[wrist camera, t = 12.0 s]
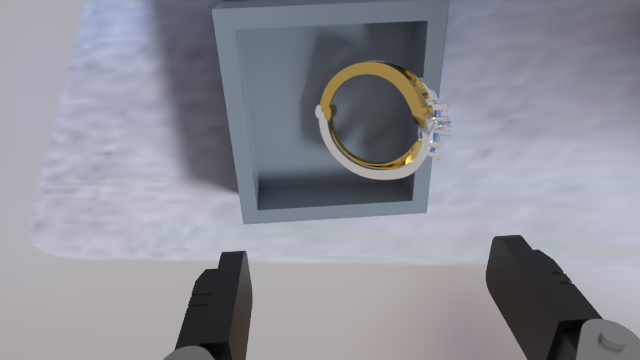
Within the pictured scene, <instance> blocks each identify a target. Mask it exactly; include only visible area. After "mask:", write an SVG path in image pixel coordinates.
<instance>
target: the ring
mask: <svg viewBox="0 0 640 360" xmlns="http://www.w3.org/2000/svg"><path fill="white" fill-rule="evenodd" d="M362 74H372V75H377V76H380V77H383V78H385V79H387V80H388V81H390V82H391V83H393V84H394V85H395V86H396V87H397V88H398V89H399V90H400V92H401V93H402V94H403V96H404V97H405V99H406V101H407V103H408V105H409V107H410V109H411V112H412V114H413V118H414V121H415V123H416V124H417V125H419V127H418V140H417V141H416V142H415V144H414V145H413V146H412V148H411V149H410V150H409V151H408V152H406V153H405V154H404V155H402V156H400V157H399V158H396V159H394V160H391V161H387V162H371V161H367V160H364V159H361V158H359V157H357V156H355V155H354V154H352V153H351V152H350V151H348V150H347V149H346V148H345V147H344V146H343V144H342V143H341V142H340V140H339V138H338V136H337V134H336V132H335V128H334V124H333V118H334V117H335V116H336V114H337V107H336V105H335V104H334V101H335V98H336V96H337V94H338V92H339V90H340V89H341V87H342V86H343V85H344V84H345V83H346V82H347V81H348V80H349V79H351V78H352V77H354V76H357V75H362ZM424 100H425V101H426V103H427V107H426V104H425V101H424ZM447 108H448V104H447V103H446V104H440V102H439V100H438V97H437V95H436V93H435V91H434V90H433V88H432V87H431V85H430V84H429V83H428V82H427V81H426V80H425V79H424V78H422V77H421V76H420V75H418V74H417V73H415V72H414V71H412V70H410V69H408V68H406V67H404V66H402V65H399V64H397V63H393V62H389V61H383V60H373V61H366V62H361V63H357V64H354V65H351V66H349V67H346V68H345V69H343V70H341V71H340V72H339V73H337V74H336V75H335V76H334V77H333V78H332V79H331V81H330V82H329V83H328V85H327V86H326V88H325V90H324V93H323V95H322V98H321V102H320V104H319V105H317V107H316V110H315V114H316V117H317V118H319V126H320V131H321V134H322V137H323V140H324V142H325V144H326V146H327V148H328V149H329V151H330V152H331V154H332V155H333V156H334V157H335V158H336V159H337V160H338V161H339V162H340V163H341V164H342V165H343V166H344V167H346V168H347V169H349V170H350V171H352V172H354V173H356V174H358V175H360V176H363V177H366V178H371V179H378V180H391V179H399V178H403V177H406V176H408V175H410V174H412V173H414V172H415V171H416V170H417V169H418V168H419V167H420V165H421V164H422V163H423V161H424V160H425V159H426V157H427V155H428V156H430V157H433V158H435V159H438V160H440V158H441V154H438V153H436V152H434V151H435V148H438V149H442V150H443V148H444V143H439V142H438V141H439V138H440V137H439V136H442V137H445V138H449V136H450V130H449V127H451V121H448V116H443V115H442V110H447Z"/></svg>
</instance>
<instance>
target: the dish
mask: <svg viewBox="0 0 640 360" xmlns="http://www.w3.org/2000/svg"><path fill="white" fill-rule="evenodd" d="M448 7H449V0H249V1H226V2H221V3H219V4H218V5H217V6H215V7H214V8H213V9H211V10H212V16H213V23H214V30H215V37H216V43H217V50H218V57H219V63H220V70H221V77H222V83H223V90H224V97H225V104H226V110H227V117H228V124H229V130H230V137H231V144H232V150H233V157H234V164H235V171H236V177H237V184H238V191H239V197H240V204H241V211H242V217H243V224H257V223H273V222H289V221H305V220H321V219H336V218H352V217H368V216H384V215H400V214H416V213H426V212H427V203H428V194H429V184H430V175H431V166H432V157H430V156H428V155H427V157H426V159H425V160H424V161H423V163H422V164H421V165H420V167H419V168H418V169H417V170H416V171H415V172H414V173H412V174H410V175H408V176H406V177H403V178H399V179H391V180H378V179H371V178H366V177H363V176H360V175H358V174H356V173H354V172H352V171H350V170H349V169H347V168H346V167H344V166H343V165H342V164H341V163H340V162H339V161H338V160H337V159H336V158H335V157H334V156H333V155H332V154H331V152H330V151H329V149H328V148H327V146H326V144H325V142H324V140H323V137H322V134H321V131H320V126H319V118H317V117H316V114H315V110H316V107H317V105H319V104H320V102H321V98H322V95H323V93H324V90H325V88H326V86H327V85H328V83H329V82H330V81H331V79H332V78H333V77H334V76H335V75H336V74H337V73H339V72H340V71H341V70H343V69H345V68H346V67H349V66H351V65H354V64H357V63H361V62H366V61H373V60H383V61H389V62H393V63H397V64H399V65H402V66H404V67H406V68H408V69H410V70H412V71H414V72H415V73H417V74H418V75H420V76H421V77H422V78H424V79H425V80H426V81H427V82H428V83H429V84H430V85H431V87H432V88H433V90H434V91H435V93H436V95H437V97H438V100H439V91H440V82H441V72H442V63H443V53H444V44H445V35H446V25H447V16H448ZM424 101H425V100H424ZM334 104H335V105H336V107H337V114H336V116H335V117H334V118H333V124H334V128H335V132H336V134H337V136H338V138H339V140H340V142H341V143H342V144H343V146H344V147H345V148H346V149H347V150H348V151H350V152H351V153H352V154H354V155H355V156H357V157H359V158H361V159H364V160H367V161H371V162H387V161H391V160H394V159H396V158H399V157H400V156H402V155H404V154H405V153H406V152H408V151H409V150H410V149H411V148H412V146H413V145H414V144H415V142H416V141H417V140H418V127H419V125H417V124H416V123H415V121H414V118H413V114H412V112H411V109H410V107H409V105H408V103H407V101H406V99H405V97H404V96H403V94H402V93H401V92H400V90H399V89H398V88H397V87H396V86H395V85H394V84H393V83H391V82H390V81H388V80H387V79H385V78H383V77H380V76H377V75H372V74H362V75H357V76H354V77H352V78H351V79H349V80H348V81H347V82H346V83H345V84H344V85H343V86H342V87H341V89H340V90H339V92H338V94H337V96H336V98H335V101H334ZM425 104H426V107H427V103H426V101H425Z"/></svg>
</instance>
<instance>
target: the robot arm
mask: <svg viewBox="0 0 640 360" xmlns="http://www.w3.org/2000/svg"><path fill="white" fill-rule="evenodd" d="M486 283H487V287H488V290H489V292H490V294H491V296H492V298H493V299H494V301H495V303H496V305H497V307H498V308H499V310H500V312H501V314H502V315H503V317H504V319H505V321H506V322H507V324H508V326H509V328H510V329H511V331H512V333H513V335H514V336H515V338H516V340H517V342H518V343H519V345H520V347H521V349H522V351H523V352H524V354H525V356H526V358H527V359H528V360H640V339H639V338H638V337H637V336H636V335H635V334H634V333H633V332H632V331H630V330H629V329H627V328H626V327H624V326H622V325H620V324H618V323H615V322H613V321H609V320H604V319H603V318H602V317H601V316H600V315H599V314H598V312H597V311H596V310H595V309H594V308H593V306H592V305H591V304H590V303H589V302H588V301H587V299H586V298H585V297H584V296H583V295H582V293H581V292H580V291H579V290H578V289H577V287H576V286H575V285H574V284H572V283H571V280H570V279H569V278H568V277H567V275H566V274H564V273H563V271H562V269H561V268H560V267H559V266H558V265H557V263H556V262H555V261H554V260H553V259H552V258H550V257H549V256H547V255H546V254H544V253H543V252H541V251H540V250H532V248H531V247H530V246H529V245H528V243H527V242H526V241H525V240H524V238H523V237H522V236H520V235H509V236H496V237H494V239H493V241H492V245H491V250H490V255H489V260H488V265H487V270H486ZM188 306H189V307H188V308H187V311H186V314H185V318H184V321H183V324H182V327H181V331H180V334H179V337H178V341H177V344H176V347H175V350H174V351H173V352H172V353H171V354H169V355H168V356H167V357H166V358H164V360H246V352H247V343H248V335H249V327H250V318H251V310H252V285H251V279H250V272H249V265H248V259H247V253H246V251H234V252H222V254H221V257H220V261H219V265H218V269H206V270H205V271H204V272H203V273H202V274H201V275H200V277H199V278H198V279H197V280H196V281H195V285H194V288H193V291H192V297H191V298H190V301H189V304H188Z"/></svg>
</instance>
